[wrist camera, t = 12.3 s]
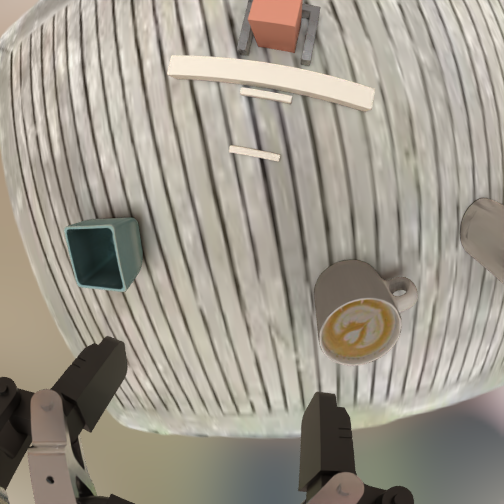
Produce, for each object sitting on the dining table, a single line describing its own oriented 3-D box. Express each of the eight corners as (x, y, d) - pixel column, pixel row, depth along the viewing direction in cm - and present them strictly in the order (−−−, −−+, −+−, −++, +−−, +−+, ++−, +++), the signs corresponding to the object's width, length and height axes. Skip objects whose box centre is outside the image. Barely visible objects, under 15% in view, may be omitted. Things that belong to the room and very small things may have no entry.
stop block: (300, 24, 27) (302, -8, 18) (294, 52, 28) (295, 26, 20) (265, 18, 27) (257, -14, 18) (258, 46, 28) (247, 19, 20)
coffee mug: (320, 326, 42) (324, 372, 33) (307, 268, 39) (311, 308, 29) (403, 306, 39) (425, 348, 30) (400, 247, 36) (429, 280, 26)
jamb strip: (368, 93, 29) (375, 89, 26) (350, 178, 33) (355, 181, 31) (180, 60, 30) (171, 55, 27) (165, 142, 34) (155, 142, 32)
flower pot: (99, 209, 39) (62, 227, 31) (147, 206, 38) (112, 224, 30) (109, 261, 43) (77, 287, 34) (155, 263, 41) (127, 292, 33)
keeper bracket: (318, 14, 26) (320, 7, 23) (309, 66, 29) (310, 60, 26) (252, 4, 26) (249, -4, 24) (240, 54, 29) (236, 49, 27)
